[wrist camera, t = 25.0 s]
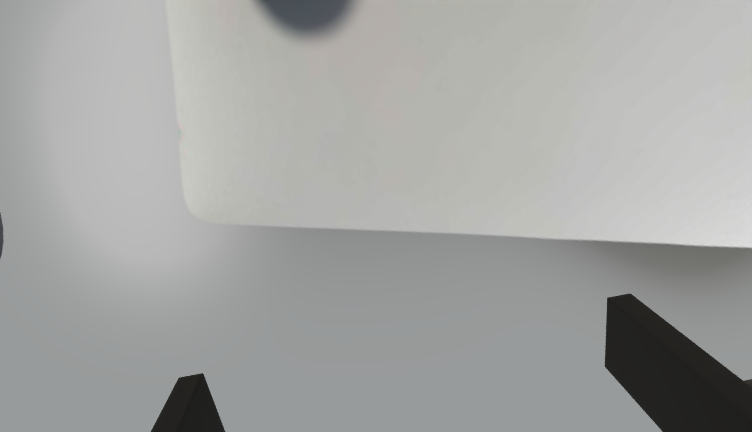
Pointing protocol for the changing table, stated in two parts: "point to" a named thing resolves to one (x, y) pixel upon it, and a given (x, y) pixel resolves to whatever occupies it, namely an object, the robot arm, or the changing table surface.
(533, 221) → the changing table surface
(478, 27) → the changing table surface
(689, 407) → the robot arm
